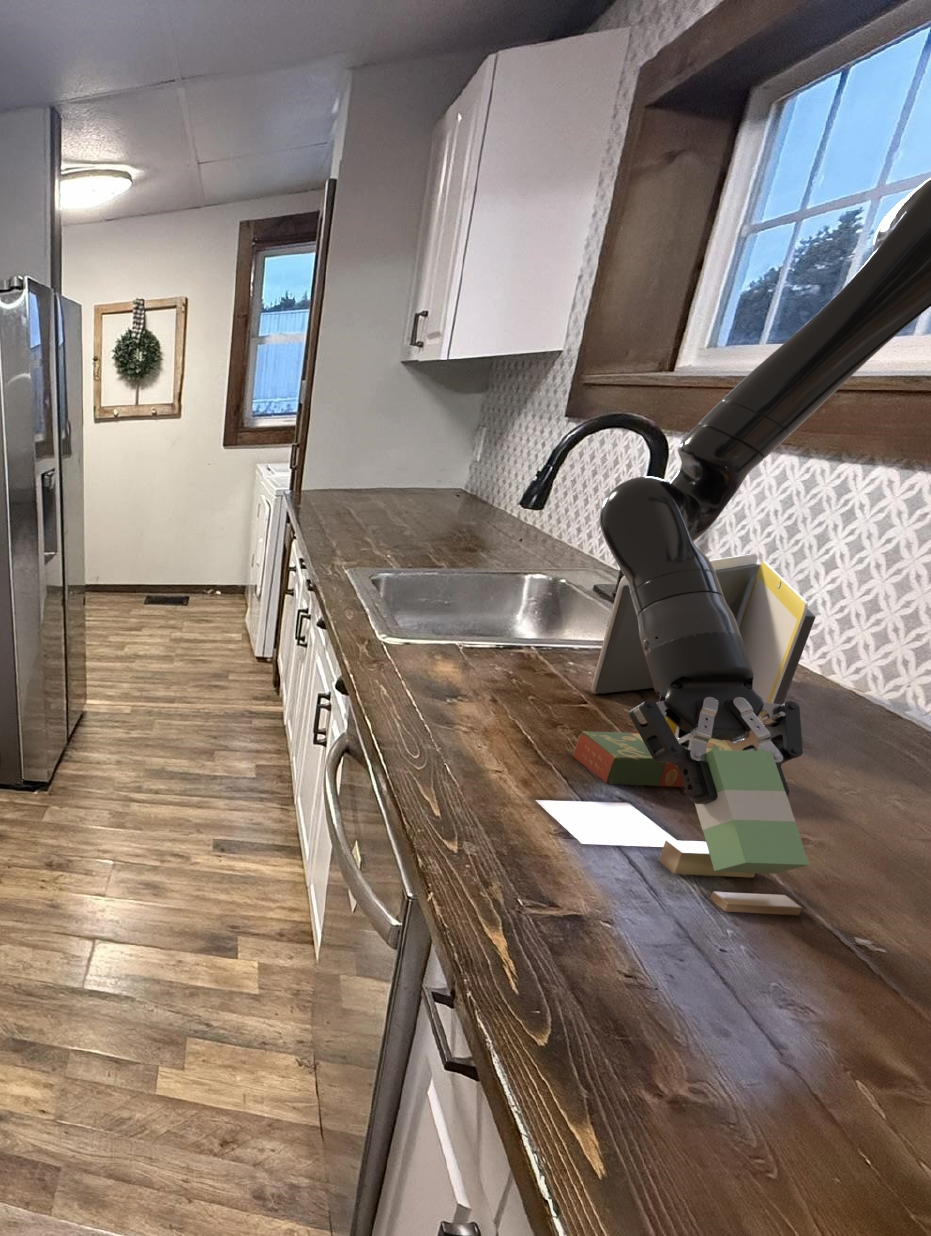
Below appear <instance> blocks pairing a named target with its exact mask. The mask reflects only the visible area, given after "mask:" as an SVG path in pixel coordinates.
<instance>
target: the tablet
mask: <svg viewBox="0 0 931 1236" xmlns="http://www.w3.org/2000/svg"><path fill="white" fill-rule="evenodd" d="M758 559H759V558H758V555H757V554H756V553H747V554H741V555H734V556H728V557H727V556H726V557H722V558H716V559H709V560H710V562H711V564H712V566H713V567H714V570H715V572H716V575H717V578H718V581H719V584H720V586H721V589H722V592H723V595H724V598H725V601H726V603H727V605H728V606H729V608H730V610H731V611H732V613H733V615H734V617H735V620H736V623H737V626H738V629H739V631H740V634H741V637H742V640H743V643H744V646H745V649H746V652H747V655H748V658H749V661H750V664H751V667H752V669H753V672H754V677H753V684H752V686H753V689H754V691H755V692H756V693H757V694H758V695H759V696H760V697H761V698H762V700H763V702H768V703H774V704H780V705H781V704H784V703H785V701H786V698H787V696H788V692H789V690H790V687H791V684H792V682H793V679H794V676H795V673H796V671H797V668H798V666H799V663H800V660H801V657H802V655H803V652H804V650H805V647H806V644H807V641H808V639H809V636H810V633H811V630H812V629H813V625H814V623H815V620H816V615H814V614H813V612H811V610H810V609H808V608H809V602H808V600H806V598H804V597H803V596H802V595H801V594H800V593H799V592H798V591H797V590H796V589H794V587H793V586H792V585H791V584H790V583H789V582H788V581H786V579H784V578H783V576H781V575H780V574H779V572H777V571H776V570H775V569H774V568H773V567H772V566H771V564H769V563H768V562H767V561H766V560H765V561H761V562H760V564H758ZM646 689H654V686H653V682H652V679H651V675H650V672H649V668H648V665H647V661H646V657H645V654H644V650H643V647H642V644H641V640H640V635H639V624H638V618H637V615H636V611H635V608H634V604H633V601H632V598H631V594H630V588H629V584H628V582H627V580H626V578H625V576H624V575H623V576H622V578H620V581H619V583H618V586H617V590H616V593H615V597H614V601H613V605H612V608H611V612H610V616H609V620H608V623H607V627H606V631H605V635H604V637H603V642H602V644H601V649H600V653H599V656H598V659H597V664H596V667H595V672H594V675H593V678H592V682H591V686H590V692H591V693H592V694H595V695H597V694H609V693H617V692H618V693H619V692H628V691H638V690H646ZM758 719H759V720H760V721H763V720H762V717H761V716H760V715H758ZM764 726H765V727H766V725H764Z"/></svg>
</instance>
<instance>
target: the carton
mask: <svg viewBox="0 0 931 1236" xmlns="http://www.w3.org/2000/svg"><path fill="white" fill-rule="evenodd" d="M674 735H675V734H674ZM711 750H732V749H731V748H730V746H729V745H728V744H727V743H726V741H725V740H718V739H713V738H711V739H710V740H709V741H708V743H707V747H706V753H707V752H709V751H711ZM572 757H573V758H575V759H576V760H577V761H578V762H579V763H581V765H583V766H584V767H585V768H587V769H588V770H589V771H591V772H592V774H594V775H595V776H596V777H598V778H599V779H601V781H602V782H604V783H605V784H608V785H629V786H630V785H633V786H650V787H651V786H654V787H655V786H656V787H674V788H675V787H676V788H685V787H684V783H683V780H682V776H681V773H680V770H679V768H677V767H676V766H675V765H674V764H672V763H668V762H665V761H664V762H657V761H655V760H654V759H653V758H652V756H651V754H650V752H649V751H648V749H647V747H646V745H645V743H644V741H643V740H642V738H641V736H640V734H639V732H621V731H589V730H588V731H587V730H584V731H581V733H580V734H579V737H578V738H577V743H576V745H575V747H574V751H573V755H572Z"/></svg>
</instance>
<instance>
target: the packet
mask: <svg viewBox="0 0 931 1236" xmlns="http://www.w3.org/2000/svg"><path fill="white" fill-rule="evenodd" d="M702 762H708V764H709V767H710V771H711V774H712V777H713V781H714V784H715V787H716V791H717V795H718V797H717V799H716V800H715V801H712V802H710V803H707V804H695V803H694V805H695V810H696V813H697V816H698V819H699V823H700V826H701V830H702V833H703V836H704V840H705V842H706V843H707V847H708V850H709V854H710V857H711V861H712V864H713V868H714V871H720V872H745V873H755V874H772V875H773V874H778V873H783V872H787V871H792V870H796V869H799V868H803V867H807V866H810V862H809V859H808V857H807V853H806V850H805V847H804V844H803V841H802V838H801V835H800V832H799V829H798V826H797V823H796V819H795V816H794V813H793V810H792V806H791V804H790V801H789V798H788V797H787V795H786V792H785V790H784V787H783V784H782V781H781V778H780V775H779V772H778V769H777V766H776V763H775V760H774V757H773V754H772V751H758V750H757V751H738V750H711V751H709V752H707V753H705V758H704V760H702Z"/></svg>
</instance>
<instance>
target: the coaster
mask: <svg viewBox="0 0 931 1236" xmlns="http://www.w3.org/2000/svg"><path fill="white" fill-rule="evenodd" d="M534 801H535V803H537V804H538V805H539V806H540V807H541V808H543V810H545V812H546V813H548V814H549V816H551V817H552V818H553V819H554V820H555V821H556V822H557V823H559V824H560V825H561V826H562V827H563V828H564V829H565V830H566V831H567V832H568V833H569V834H570V835H571V836H572V837H574V839H575V840H577V841H578V843H580V844H581V845H586V846H587V845H588V846H608V847H609V846H610V847H611V846H612V847H613V846H615V847H639V848H662V849H663V846H664V843H665V841H666V840H677V839H676V838H675V837H674V836H672V835H671V834H669V833H668V832H667V831H665V830H664V829H663V828H662V827H660V826H659V825H658V824H656V823H655V822H654V821H652V819H650V818H649V817H647V815H645V814H643V813H642V812H641V811H640V810H638V809H637V808H636V807H634V806H633V805H632V804H631V803H629V802H614V801H613V802H609V801H608V802H607V801H581V800H580V801H577V800H547V799H544V800H543V799H540V800H539V799H535V800H534Z"/></svg>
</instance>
